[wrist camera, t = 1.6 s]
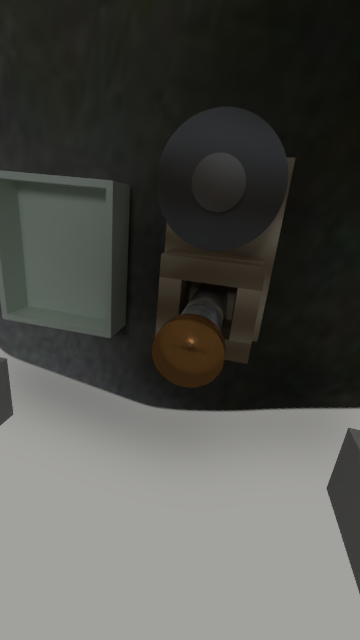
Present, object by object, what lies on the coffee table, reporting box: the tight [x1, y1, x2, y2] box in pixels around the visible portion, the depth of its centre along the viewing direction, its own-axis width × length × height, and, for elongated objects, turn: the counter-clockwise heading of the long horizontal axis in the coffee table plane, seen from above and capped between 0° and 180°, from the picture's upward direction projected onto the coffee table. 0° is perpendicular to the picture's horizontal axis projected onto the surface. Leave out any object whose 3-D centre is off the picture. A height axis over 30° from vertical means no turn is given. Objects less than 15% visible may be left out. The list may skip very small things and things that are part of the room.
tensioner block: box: [155, 107, 295, 364], centre depth 23 cm, size 17×10×9 cm, turn 175°
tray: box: [0, 171, 130, 338], centre depth 29 cm, size 14×12×4 cm
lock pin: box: [152, 283, 228, 388], centre depth 22 cm, size 4×4×13 cm
